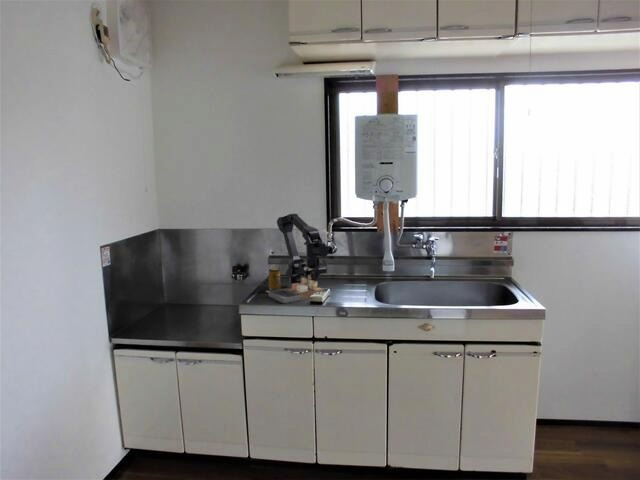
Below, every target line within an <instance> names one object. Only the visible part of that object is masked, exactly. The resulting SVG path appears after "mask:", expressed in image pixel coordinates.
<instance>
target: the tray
mask: <svg viewBox="0 0 640 480" xmlns="http://www.w3.org/2000/svg"><path fill="white" fill-rule="evenodd" d="M268 291H269V290H268ZM268 297H269V298H271V299H273V300H275V301H276V302H277V301H278V302H279V303H282V304H283V303H285V304H290V302H291V303H295V302H300V301H302V300H301V297H300V295H298V294H295V293H293V292H291V291H288V290H286V289H285V288H281V290H275V291H269V293H268Z"/></svg>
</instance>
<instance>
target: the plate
mask: <svg viewBox="0 0 640 480" xmlns="http://www.w3.org/2000/svg"><path fill="white" fill-rule="evenodd" d="M284 289H286V290H288V291H291V292H293V293H295V294H298V295H300V297H301V301H302V300H307V299H311V298H310V296H311V295H313V294H314V293H316V292H321V291H325V289H324V288H321V287H318V286H317V287H316V290H313V289H310V288H308V291H305V292H299V291H297V290H294V289H292V287H290V288H289V287H286V288H284Z"/></svg>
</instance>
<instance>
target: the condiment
mask: <svg viewBox="0 0 640 480" xmlns="http://www.w3.org/2000/svg"><path fill="white" fill-rule="evenodd" d="M268 271H269V272H268V273H269V274H268V290H266V291H265V292H266V293H268V294H269V291H275V290H281V289H282V288H281V287H282V286H281V284H282V283H281V274H280V273H281V272H280V269H279V268H278V267H276V268H275V267H273V268H272V267H271V268H269V269H268Z"/></svg>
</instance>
